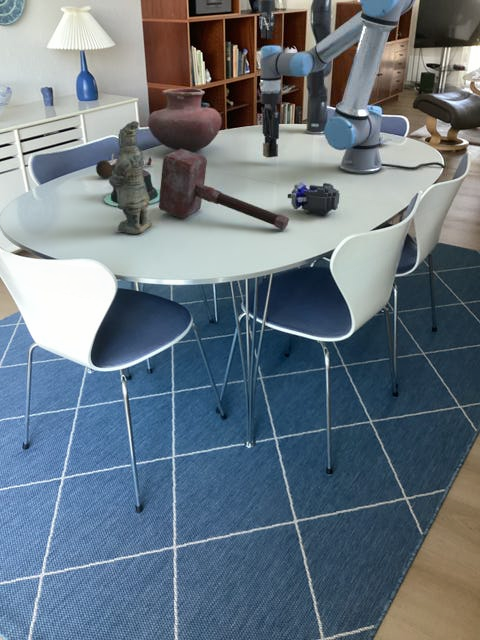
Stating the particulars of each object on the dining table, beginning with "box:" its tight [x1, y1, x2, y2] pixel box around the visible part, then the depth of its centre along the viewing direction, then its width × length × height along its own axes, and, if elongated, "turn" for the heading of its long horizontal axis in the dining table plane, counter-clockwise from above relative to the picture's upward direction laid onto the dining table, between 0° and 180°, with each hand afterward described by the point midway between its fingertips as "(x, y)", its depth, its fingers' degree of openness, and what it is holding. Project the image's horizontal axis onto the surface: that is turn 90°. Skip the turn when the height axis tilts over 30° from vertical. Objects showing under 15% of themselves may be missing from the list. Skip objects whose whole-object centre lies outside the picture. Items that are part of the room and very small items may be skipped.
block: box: [262, 142, 279, 159], centre depth 218 cm, size 5×4×5 cm
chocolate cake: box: [103, 168, 160, 207], centre depth 186 cm, size 15×19×20 cm
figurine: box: [95, 153, 153, 179], centre depth 214 cm, size 13×8×25 cm
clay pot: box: [147, 87, 223, 153], centre depth 235 cm, size 30×30×25 cm
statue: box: [108, 120, 153, 235], centre depth 154 cm, size 11×9×30 cm
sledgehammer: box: [158, 149, 290, 231], centre depth 163 cm, size 17×10×40 cm
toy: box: [287, 180, 341, 216], centre depth 168 cm, size 9×9×15 cm
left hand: (266, 38), depth 270 cm, fingers open, 8 cm apart
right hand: (270, 155), depth 219 cm, fingers closed on block, 4 cm apart
